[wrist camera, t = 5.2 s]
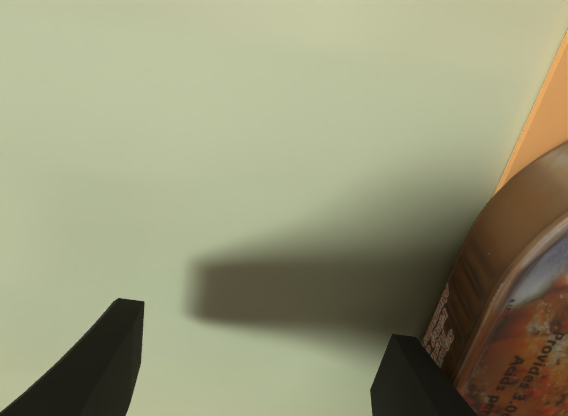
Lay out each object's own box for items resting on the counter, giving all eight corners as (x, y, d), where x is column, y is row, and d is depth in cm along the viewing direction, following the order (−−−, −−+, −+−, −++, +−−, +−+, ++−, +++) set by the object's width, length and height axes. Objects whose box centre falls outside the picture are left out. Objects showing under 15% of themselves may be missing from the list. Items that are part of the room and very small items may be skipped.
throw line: (369, 529, 18) (370, 534, 18) (344, 526, 18) (345, 532, 18) (658, -53, 9) (665, -52, 9) (609, -64, 9) (616, -65, 9)
